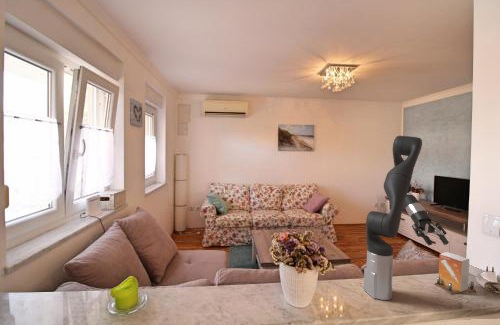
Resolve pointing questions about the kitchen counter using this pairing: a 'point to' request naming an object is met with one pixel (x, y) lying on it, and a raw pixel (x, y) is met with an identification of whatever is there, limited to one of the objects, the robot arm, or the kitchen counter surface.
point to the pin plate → (453, 291)
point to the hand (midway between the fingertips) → (438, 244)
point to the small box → (454, 271)
